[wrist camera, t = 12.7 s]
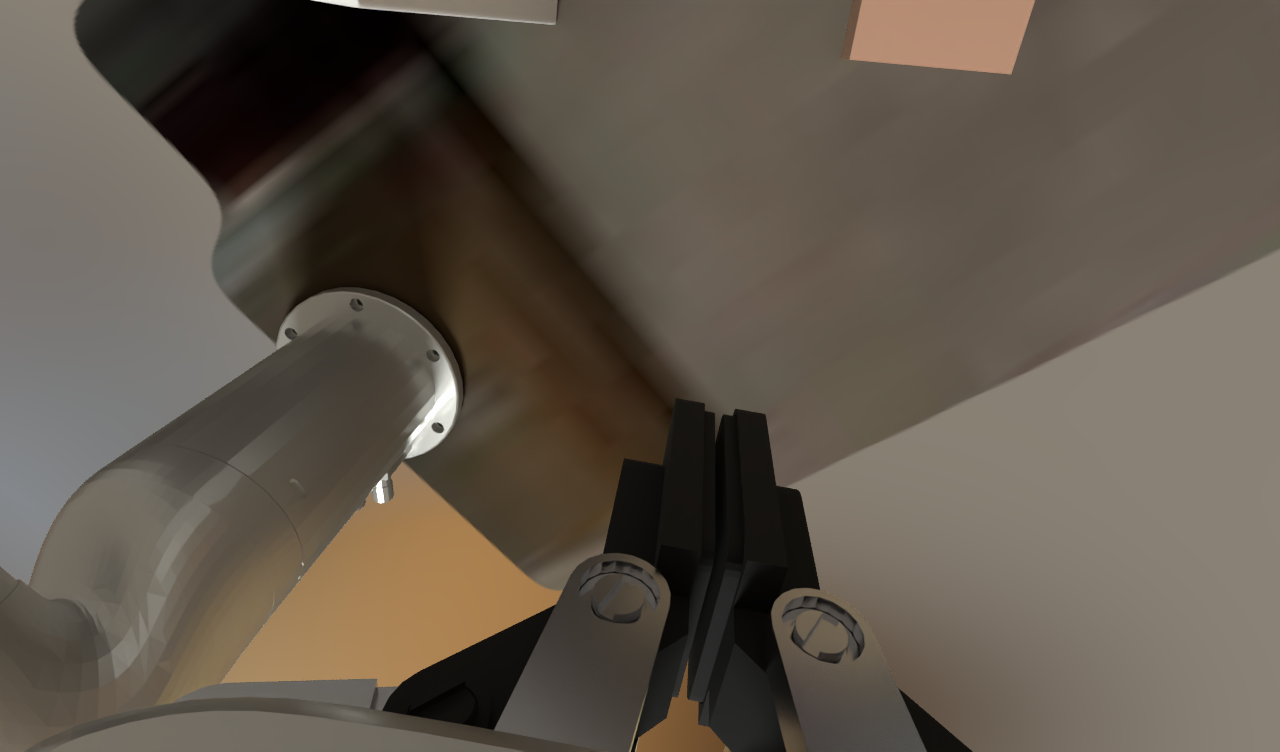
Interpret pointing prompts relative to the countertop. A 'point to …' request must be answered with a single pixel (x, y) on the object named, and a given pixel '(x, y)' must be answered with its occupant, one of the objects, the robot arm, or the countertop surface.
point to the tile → (938, 33)
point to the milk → (467, 8)
